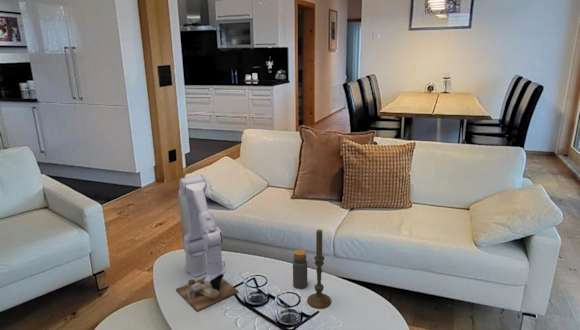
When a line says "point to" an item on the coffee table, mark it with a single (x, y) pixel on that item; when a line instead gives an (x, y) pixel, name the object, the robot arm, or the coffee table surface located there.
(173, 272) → the coffee table surface
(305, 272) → the bottle
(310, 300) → the candlestick holder
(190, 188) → the robot arm
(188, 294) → the keeper
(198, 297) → the board
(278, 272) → the coffee table surface
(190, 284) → the link
